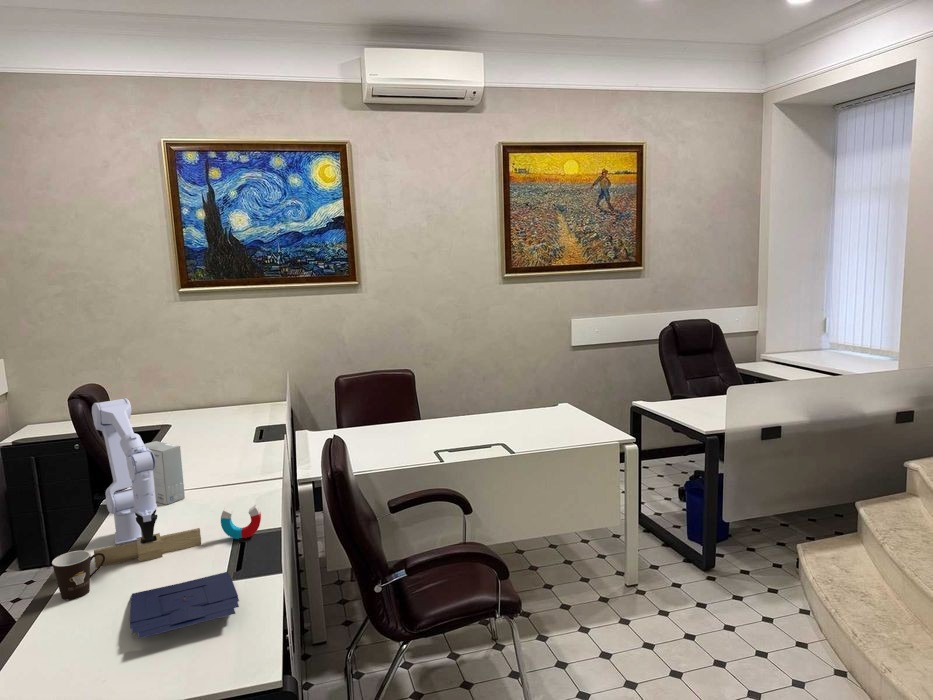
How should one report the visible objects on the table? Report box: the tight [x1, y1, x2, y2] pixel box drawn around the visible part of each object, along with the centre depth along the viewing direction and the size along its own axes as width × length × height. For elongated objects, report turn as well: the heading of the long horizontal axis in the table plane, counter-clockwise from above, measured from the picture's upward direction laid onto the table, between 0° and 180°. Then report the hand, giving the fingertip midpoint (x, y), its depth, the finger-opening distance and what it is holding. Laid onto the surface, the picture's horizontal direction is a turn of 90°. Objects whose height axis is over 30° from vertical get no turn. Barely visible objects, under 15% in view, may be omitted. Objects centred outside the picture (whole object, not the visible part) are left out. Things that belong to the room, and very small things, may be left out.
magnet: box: [220, 504, 262, 540], centre depth 199 cm, size 12×3×10 cm, turn 102°
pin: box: [141, 530, 154, 543], centre depth 188 cm, size 3×3×7 cm
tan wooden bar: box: [93, 527, 202, 569], centre depth 189 cm, size 6×28×5 cm, turn 119°
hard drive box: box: [144, 440, 186, 505], centre depth 232 cm, size 16×8×20 cm, turn 58°
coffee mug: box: [51, 550, 105, 601], centre depth 168 cm, size 12×9×10 cm
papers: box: [129, 571, 240, 639], centre depth 159 cm, size 24×30×4 cm
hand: (148, 536), depth 188 cm, fingers closed on pin, 3 cm apart
